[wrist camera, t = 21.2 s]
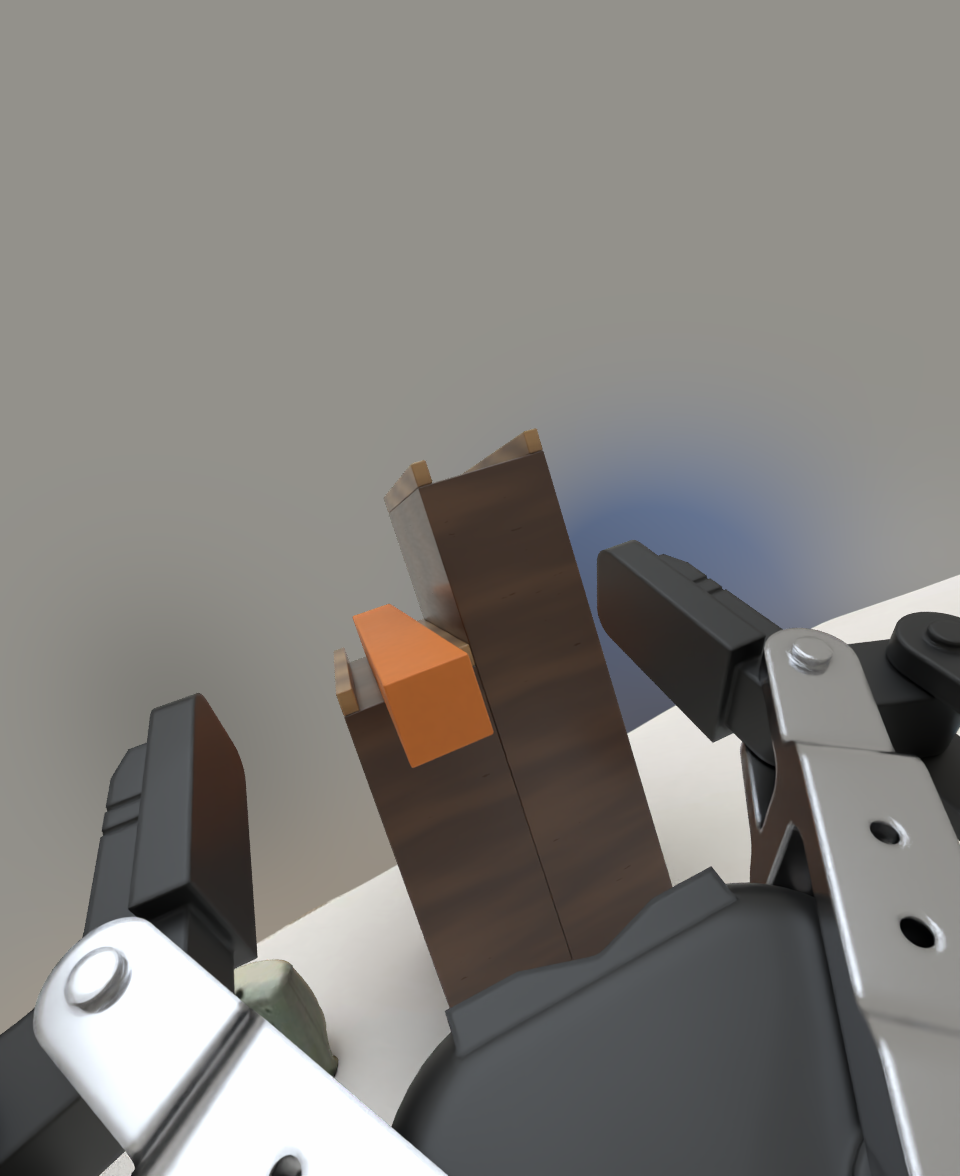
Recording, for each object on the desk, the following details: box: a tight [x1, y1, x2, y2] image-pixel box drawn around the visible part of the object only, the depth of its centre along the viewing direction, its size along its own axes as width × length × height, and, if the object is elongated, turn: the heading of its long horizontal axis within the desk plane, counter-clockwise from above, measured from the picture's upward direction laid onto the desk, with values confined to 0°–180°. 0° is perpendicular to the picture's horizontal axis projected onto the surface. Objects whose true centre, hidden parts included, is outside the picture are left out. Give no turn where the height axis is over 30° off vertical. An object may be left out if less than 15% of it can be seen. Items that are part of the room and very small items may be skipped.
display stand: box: [334, 429, 672, 1008], centre depth 36 cm, size 14×14×33 cm
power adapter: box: [234, 960, 338, 1077], centre depth 34 cm, size 6×5×8 cm
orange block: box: [353, 604, 494, 768], centre depth 30 cm, size 25×3×3 cm, turn 16°
